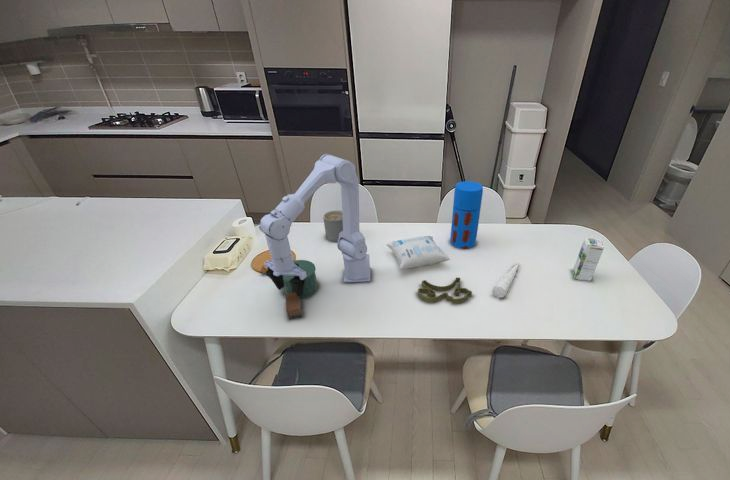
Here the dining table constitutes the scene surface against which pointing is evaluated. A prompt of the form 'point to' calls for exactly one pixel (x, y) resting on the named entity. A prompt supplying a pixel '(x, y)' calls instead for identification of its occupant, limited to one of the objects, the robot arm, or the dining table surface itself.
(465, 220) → the thermos
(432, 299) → the cookie cutter
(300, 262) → the pot lid
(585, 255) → the syrup box
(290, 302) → the brown rectangular block
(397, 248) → the pouch
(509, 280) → the unicorn horn
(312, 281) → the pot
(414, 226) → the dining table surface
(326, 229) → the coffee mug
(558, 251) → the dining table surface
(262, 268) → the pastry
